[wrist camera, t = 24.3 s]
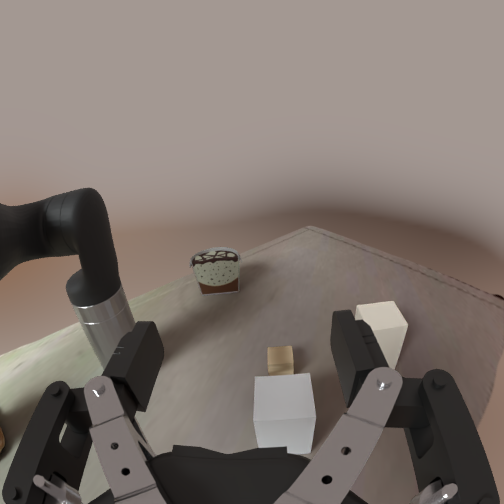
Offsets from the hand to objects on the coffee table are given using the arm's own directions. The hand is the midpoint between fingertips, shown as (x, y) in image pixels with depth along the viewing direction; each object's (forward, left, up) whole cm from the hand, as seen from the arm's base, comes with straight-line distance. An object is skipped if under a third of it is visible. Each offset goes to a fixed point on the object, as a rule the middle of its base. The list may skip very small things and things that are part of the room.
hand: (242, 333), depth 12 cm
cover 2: (-5, +29, -29) cm, 41 cm away
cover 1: (-6, +8, -29) cm, 30 cm away
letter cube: (-16, +17, -29) cm, 37 cm away
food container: (-47, +26, -29) cm, 61 cm away
